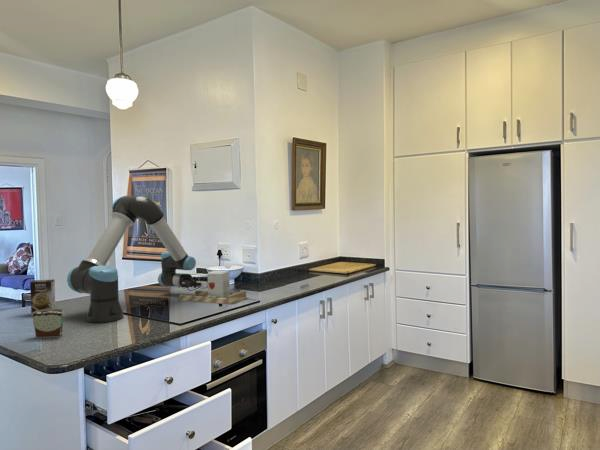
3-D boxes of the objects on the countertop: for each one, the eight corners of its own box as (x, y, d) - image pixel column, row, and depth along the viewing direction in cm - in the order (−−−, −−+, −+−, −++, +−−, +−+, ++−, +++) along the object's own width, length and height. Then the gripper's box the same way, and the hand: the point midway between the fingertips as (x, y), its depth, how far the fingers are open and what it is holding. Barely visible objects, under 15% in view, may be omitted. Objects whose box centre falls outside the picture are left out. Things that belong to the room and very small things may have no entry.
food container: (71, 332, 178) (70, 307, 178) (64, 336, 172) (63, 311, 172) (40, 333, 178) (39, 308, 177) (31, 337, 172) (30, 312, 171)
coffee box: (30, 316, 206) (29, 282, 205) (35, 313, 212) (33, 280, 212) (52, 314, 209) (51, 280, 208) (56, 311, 215) (54, 278, 214)
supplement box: (207, 301, 232) (206, 272, 231) (215, 297, 241) (214, 270, 240) (223, 301, 230) (222, 273, 229) (230, 298, 238) (229, 270, 238)
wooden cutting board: (179, 300, 236) (179, 292, 236) (201, 293, 254) (201, 286, 254) (230, 304, 223) (230, 296, 223) (250, 296, 241) (249, 289, 241)
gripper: (197, 283, 256) (228, 285, 247) (167, 291, 234) (200, 293, 225) (197, 270, 256) (227, 271, 247) (167, 277, 233) (200, 279, 224)
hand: (214, 282), depth 236 cm, fingers open, 13 cm apart
